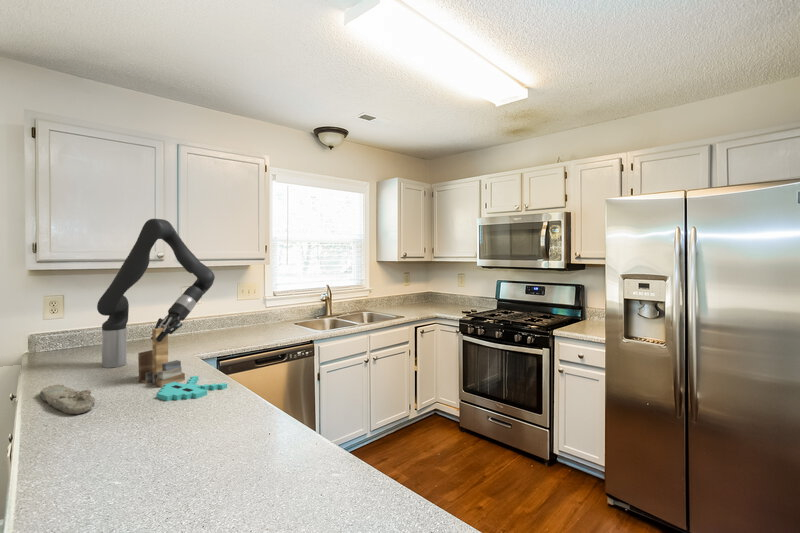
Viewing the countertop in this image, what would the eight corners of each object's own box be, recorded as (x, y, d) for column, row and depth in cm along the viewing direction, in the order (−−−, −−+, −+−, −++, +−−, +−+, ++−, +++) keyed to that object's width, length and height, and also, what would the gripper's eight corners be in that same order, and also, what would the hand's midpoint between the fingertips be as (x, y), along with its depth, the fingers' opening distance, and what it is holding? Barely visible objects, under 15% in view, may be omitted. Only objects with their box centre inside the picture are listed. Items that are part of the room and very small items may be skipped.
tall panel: (152, 381, 164) (152, 329, 163) (164, 378, 168) (164, 327, 167) (156, 382, 163) (156, 329, 162) (168, 379, 167) (167, 327, 166)
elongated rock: (66, 392, 155) (32, 401, 146) (64, 379, 154) (30, 387, 146) (103, 408, 136) (67, 419, 127) (102, 393, 135) (65, 403, 127)
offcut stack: (155, 385, 159) (155, 365, 158) (179, 378, 168) (179, 359, 168) (161, 387, 157) (161, 366, 157) (185, 380, 166) (185, 360, 166)
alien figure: (195, 380, 167) (146, 395, 149) (194, 375, 167) (146, 389, 149) (227, 389, 158) (179, 406, 140) (227, 383, 158) (179, 399, 140)
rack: (138, 381, 164) (138, 353, 163) (162, 374, 173) (161, 347, 172) (153, 385, 160) (152, 355, 159) (176, 378, 169) (176, 350, 168)
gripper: (166, 300, 174) (138, 333, 163) (187, 303, 168) (159, 337, 157) (177, 311, 179) (151, 343, 168) (198, 313, 173) (172, 347, 162)
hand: (155, 340), depth 163 cm, fingers closed on tall panel, 2 cm apart
